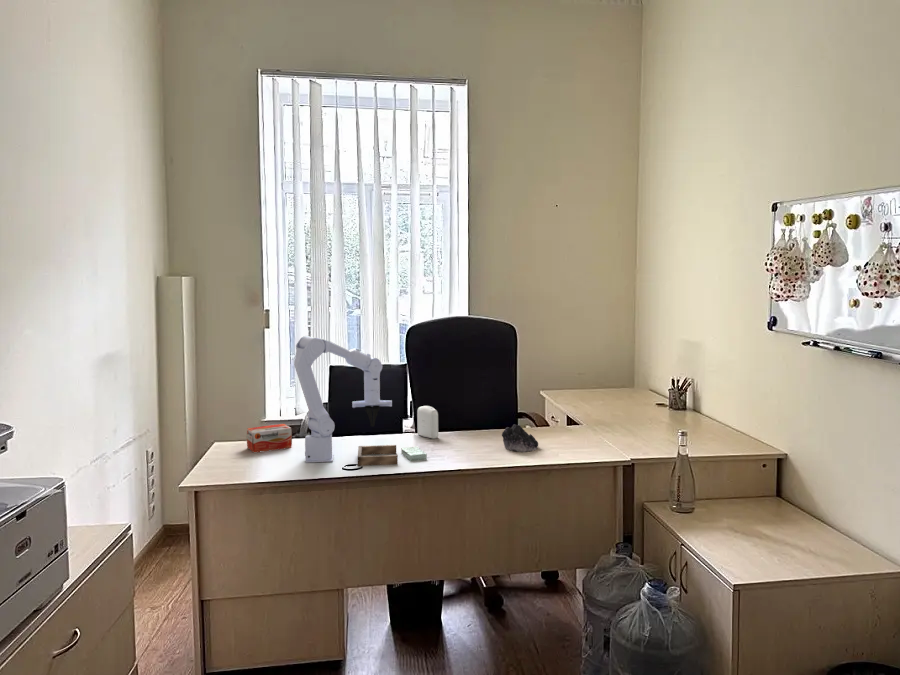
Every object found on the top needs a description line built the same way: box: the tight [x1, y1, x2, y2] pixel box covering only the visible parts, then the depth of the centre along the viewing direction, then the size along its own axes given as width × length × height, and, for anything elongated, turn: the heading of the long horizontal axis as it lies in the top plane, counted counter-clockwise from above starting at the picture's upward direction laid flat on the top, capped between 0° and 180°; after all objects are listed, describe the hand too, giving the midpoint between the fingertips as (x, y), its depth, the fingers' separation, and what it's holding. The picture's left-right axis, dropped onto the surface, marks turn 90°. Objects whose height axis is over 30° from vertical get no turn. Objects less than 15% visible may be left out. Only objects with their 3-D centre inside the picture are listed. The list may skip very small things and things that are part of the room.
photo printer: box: [416, 405, 439, 439], centre depth 282 cm, size 10×4×12 cm, turn 39°
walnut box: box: [357, 444, 399, 467], centre depth 248 cm, size 14×15×3 cm
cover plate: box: [400, 446, 428, 462], centre depth 252 cm, size 6×11×2 cm, turn 21°
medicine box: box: [246, 423, 293, 453], centre depth 265 cm, size 15×8×8 cm, turn 122°
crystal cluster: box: [501, 423, 539, 453], centre depth 263 cm, size 13×14×10 cm
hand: (372, 425), depth 259 cm, fingers closed
